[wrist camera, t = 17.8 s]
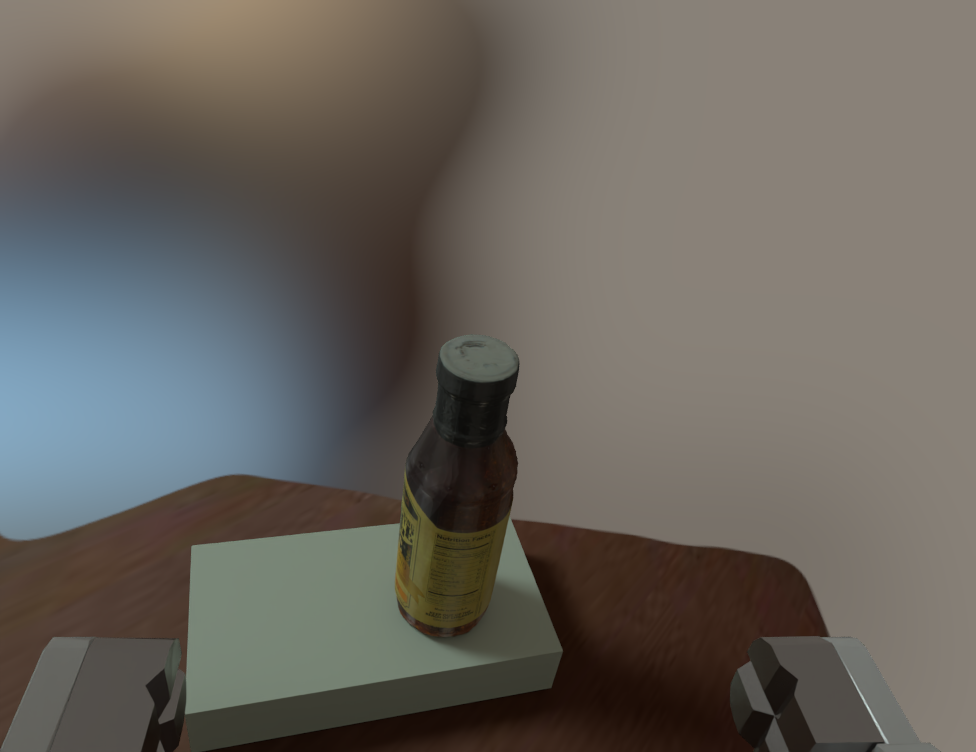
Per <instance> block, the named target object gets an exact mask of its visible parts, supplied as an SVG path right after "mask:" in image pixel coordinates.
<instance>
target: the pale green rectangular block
mask: <svg viewBox="0 0 976 752" xmlns="http://www.w3.org/2000/svg"><path fill="white" fill-rule="evenodd" d="M399 528H400V524H390V525H381V526H372V527H362V528H353V529H344V530H334V531H325V532H316V533H306V534H297V535H288V536H278V537H269V538H260V539H250V540H241V541H232V542H222V543H213V544H204V545H194V546H192V550H191V575H190V600H189V625H188V650H187V675H186V708H185V718H186V724H187V730H188V736H189V742H190V748H191V752H202V751H208V750H213V749H219V748H224V747H230V746H235V745H241V744H246V743H252V742H257V741H263V740H268V739H274V738H279V737H285V736H290V735H296V734H301V733H307V732H312V731H318V730H323V729H329V728H334V727H340V726H345V725H351V724H356V723H361V722H367V721H372V720H378V719H383V718H389V717H394V716H400V715H405V714H411V713H416V712H422V711H427V710H433V709H438V708H444V707H449V706H455V705H460V704H466V703H471V702H477V701H482V700H488V699H493V698H499V697H504V696H510V695H515V694H521V693H526V692H532V691H537V690H543V689H548V688H551V687H552V684H553V681H554V678H555V675H556V671H557V668H558V665H559V662H560V659H561V656H562V653H563V650H562V647H561V645H560V642H559V640H558V637H557V635H556V632H555V630H554V627H553V625H552V622H551V620H550V617H549V614H548V612H547V609H546V607H545V604H544V602H543V599H542V597H541V594H540V592H539V589H538V587H537V584H536V582H535V579H534V577H533V574H532V572H531V569H530V567H529V564H528V562H527V559H526V556H525V554H524V551H523V549H522V546H521V544H520V541H519V539H518V536H517V534H516V531H515V529H514V526H513V524H512V521H511V519H510V516H509V520H508V525H507V529H506V534H505V538H504V543H503V548H502V552H501V557H500V562H499V566H498V570H497V575H496V579H495V584H494V588H493V592H492V596H491V600H490V603H489V605H488V608H487V610H486V611H485V613H484V615H483V617H482V618H481V620H480V621H479V622H478V624H477V625H476V626H475V627H473V628H472V629H471V630H470V631H469V632H468V633H465V634H463V635H457V636H455V637H452V636H450V637H435V636H430V635H427V634H424V633H422V632H421V631H419V630H417V629H416V628H415V627H414V626H412V625H410V624H409V623H407V621H406V620H405V619H404V618H403V616H402V615H401V614H400V611H399V608H398V602H397V597H396V596H397V595H396V592H395V573H396V562H397V550H398V540H399Z"/></svg>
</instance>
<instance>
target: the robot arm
mask: <svg viewBox="0 0 976 752" xmlns="http://www.w3.org/2000/svg"><path fill="white" fill-rule="evenodd" d="M747 653H748V655H749V657H750V660H751V661H750V662H748V663H747V664H745V665H744V666H742V667H741V668H739V669H737V671H736V673H735V675H734V678H733V680H732V682H731V688H730V705H731V710H732V715H733V719H734V722H735V724H736V727H737V730H738V733H739V734H740V735H741V736H742V737H743V738H744V739H745V740H746V741H747V742H748V743H749V744H750V745H751V746H752V747H753V748H754V752H941V751H939V750H938V749H937V748H936V747H935V746H933V745H932V744H931V743H921V742H920V741H919V739H918V737H917V735H916V734H915V732H914V730H913V728H912V727H911V725H910V723H909V722H908V720H907V718H906V716H905V715H904V713H903V711H902V709H901V708H900V706H899V704H898V702H897V701H896V699H895V697H894V695H893V694H892V692H891V691H890V689H889V687H888V685H887V683H886V682H885V680H884V678H883V676H882V675H881V673H880V671H879V669H878V668H877V666H876V664H875V663H874V661H873V659H872V657H871V655H870V654H869V652H868V650H867V648H866V647H865V645H864V644H863V643H862V642H860V641H859V640H858V639H857V638H852V637H819V636H810V637H761V638H759V639H757V640H754V641H753V642H752V644H751V646H750V647H749V649H748V651H747ZM181 654H182V652H181V648H180V643H179V638H98V637H53V638H52V640H51V641H50V642H49V643H48V645H47V646H46V647H45V649H44V650H43V652H42V654H41V656H40V659H39V661H38V663H37V666H36V668H35V670H34V673H33V675H32V677H31V680H30V682H29V684H28V687H27V689H26V691H25V694H24V696H23V698H22V701H21V703H20V705H19V708H18V710H17V712H16V715H15V717H14V719H13V721H12V724H11V726H10V728H9V731H8V733H7V735H6V738H5V740H4V742H3V745H2V747H1V749H0V752H173V751H174V750H175V749H176V748H177V747H178V746H179V741H180V737H181V732H182V728H183V723H184V715H185V708H186V678H185V673H184V672H182V671H181V670H179V669H178V666H179V662H180V658H181Z"/></svg>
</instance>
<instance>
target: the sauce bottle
mask: <svg viewBox="0 0 976 752" xmlns="http://www.w3.org/2000/svg"><path fill="white" fill-rule="evenodd" d="M518 371H519V358H518V356H517V354H516V352H515V351H514V350H513V349H511V348H510V347H509V346H508V345H507V344H506V343H504V342H502V341H500V340H498V339H495V338H492V337H489V336H483V335H465V336H460V337H457V338H455V339H453V340H450V341H448V342H446V344H445V345H443V346H442V348H441V350H440V352H439V357H438V364H437V369H436V376H437V379H438V392H437V401H436V406H435V408H434V410H433V416H432V418H431V419H430V421H429V423H428V424H427V426H426V428H425V429H424V431H423V433H422V435H421V436H420V438H419V440H418V441H417V442H416V444H415V445H414V447H413V448H412V450H411V451H410V453H409V455H408V457H407V460H406V465H405V475H404V487H403V498H402V505H401V518H400V528H399V540H398V550H397V562H396V573H395V592H396V595H397V596H396V597H397V602H398V608H399V611H400V614H401V615H402V616H403V618H404V619H405V620H406V621H407V623H409V624H410V625H412V626H414V627H415V628H416V629H417V630H419V631H421V632H422V633H424V634H427V635H430V636H435V637H450V636H452V637H455V636H457V635H463V634H465V633H468V632H469V631H470V630H471V629H472V628H473V627H475V626H476V625H477V624H478V622H479V621H480V620H481V618H482V617H483V615H484V613H485V611H486V610H487V608H488V605H489V603H490V600H491V596H492V592H493V588H494V584H495V579H496V575H497V570H498V566H499V562H500V557H501V552H502V548H503V543H504V538H505V534H506V529H507V525H508V520H509V515H510V511H511V506H512V501H513V487H514V484H515V480H516V478H517V466H518V461H517V456H516V451H515V449H514V445H513V443H512V441H511V439H510V438H509V436H508V435H507V432H506V430H505V427H506V424H507V416H506V414H507V409H508V404H509V398H510V395H511V394H512V393H513V391H514V389H515V387H516V382H517V377H518Z"/></svg>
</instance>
